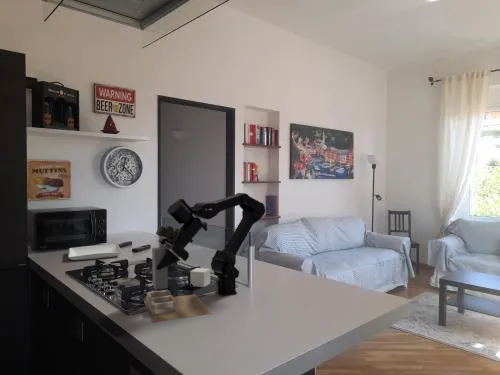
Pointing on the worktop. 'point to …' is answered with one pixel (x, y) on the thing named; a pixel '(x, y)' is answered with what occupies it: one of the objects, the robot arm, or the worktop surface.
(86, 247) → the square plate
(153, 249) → the tall gray block
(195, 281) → the white cube
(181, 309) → the cord organiser
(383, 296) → the worktop surface
